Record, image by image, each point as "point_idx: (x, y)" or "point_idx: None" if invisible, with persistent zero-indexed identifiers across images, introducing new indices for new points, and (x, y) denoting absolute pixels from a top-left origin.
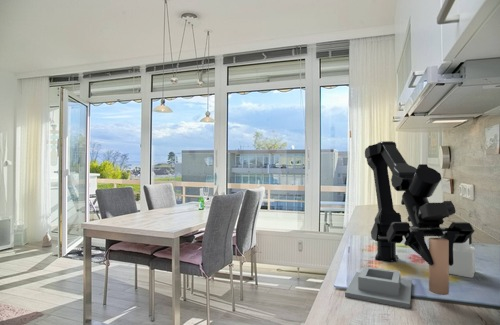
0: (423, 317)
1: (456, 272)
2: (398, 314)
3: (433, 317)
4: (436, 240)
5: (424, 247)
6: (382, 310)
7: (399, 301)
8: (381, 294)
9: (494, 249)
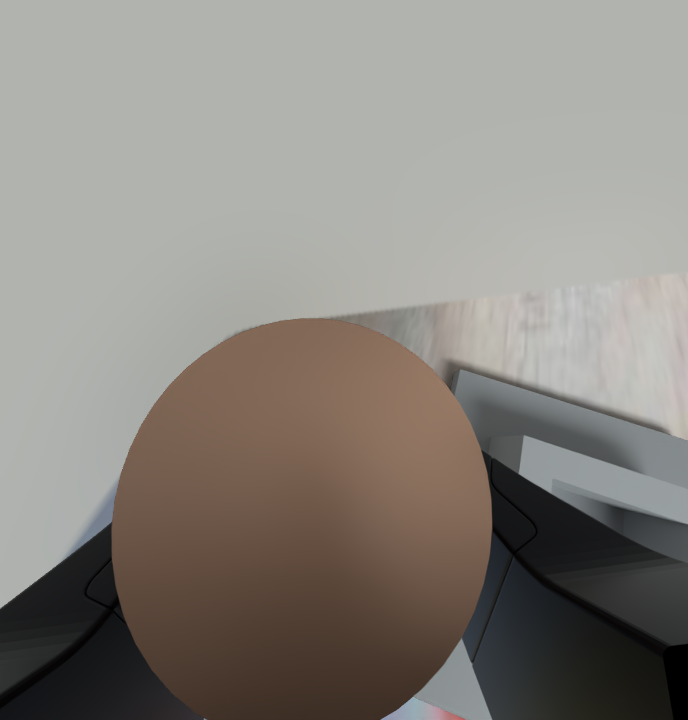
0: (426, 321)
1: None
2: (494, 329)
3: (397, 324)
4: (370, 415)
5: (491, 475)
6: (539, 349)
7: (492, 385)
8: (554, 441)
9: None
